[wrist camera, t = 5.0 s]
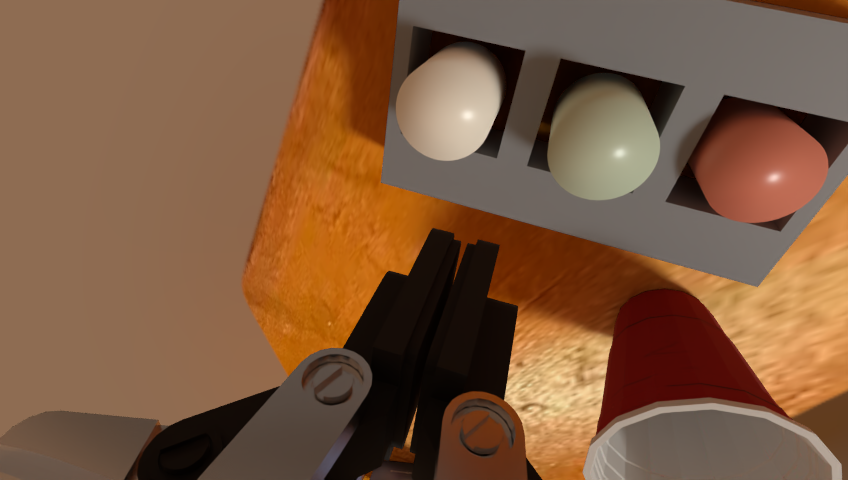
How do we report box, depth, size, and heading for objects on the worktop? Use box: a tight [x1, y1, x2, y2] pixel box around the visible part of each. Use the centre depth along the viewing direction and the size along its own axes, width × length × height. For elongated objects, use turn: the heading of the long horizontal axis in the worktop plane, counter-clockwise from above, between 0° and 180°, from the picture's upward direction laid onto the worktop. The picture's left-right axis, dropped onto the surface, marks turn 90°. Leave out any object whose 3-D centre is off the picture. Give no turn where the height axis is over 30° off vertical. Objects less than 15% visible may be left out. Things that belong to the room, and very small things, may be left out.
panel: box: [381, 0, 848, 287], centre depth 23 cm, size 12×21×4 cm, turn 81°
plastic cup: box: [583, 289, 842, 480], centre depth 26 cm, size 11×11×12 cm
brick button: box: [687, 97, 828, 223], centre depth 21 cm, size 4×4×5 cm
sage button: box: [547, 73, 660, 200], centre depth 21 cm, size 4×4×5 cm
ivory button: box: [396, 42, 506, 161], centre depth 21 cm, size 4×4×5 cm
